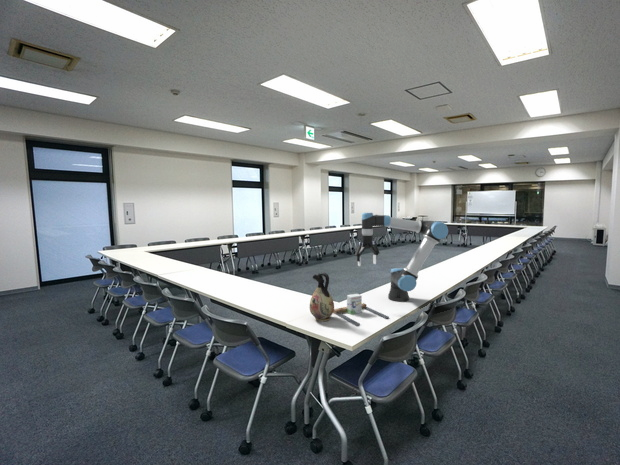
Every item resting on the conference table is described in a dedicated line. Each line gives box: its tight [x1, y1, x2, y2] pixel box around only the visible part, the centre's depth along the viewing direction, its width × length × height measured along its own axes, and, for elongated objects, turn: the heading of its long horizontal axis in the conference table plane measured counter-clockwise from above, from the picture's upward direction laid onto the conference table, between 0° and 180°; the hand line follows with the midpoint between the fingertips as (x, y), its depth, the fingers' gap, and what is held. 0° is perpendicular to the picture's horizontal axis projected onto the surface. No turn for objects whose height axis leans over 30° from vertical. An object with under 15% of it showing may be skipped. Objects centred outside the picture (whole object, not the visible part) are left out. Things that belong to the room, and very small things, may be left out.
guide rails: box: [335, 306, 390, 327], centre depth 189 cm, size 25×22×1 cm
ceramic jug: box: [309, 272, 335, 322], centre depth 184 cm, size 17×15×30 cm
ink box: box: [346, 293, 363, 315], centre depth 196 cm, size 9×5×12 cm, turn 114°
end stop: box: [333, 303, 367, 315], centre depth 200 cm, size 25×3×2 cm, turn 118°
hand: (367, 265), depth 209 cm, fingers open, 13 cm apart
